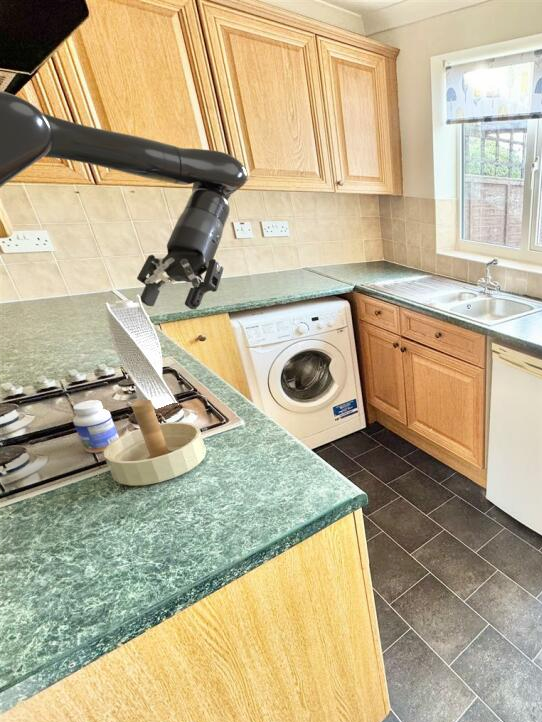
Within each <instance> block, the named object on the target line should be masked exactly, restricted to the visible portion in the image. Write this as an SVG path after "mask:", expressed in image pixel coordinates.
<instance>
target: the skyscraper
mask: <svg viewBox="0 0 542 722" xmlns="http://www.w3.org/2000/svg"><path fill="white" fill-rule="evenodd" d="M135 299H136V301H134V302H133V300H131V299H122V300H121V299H120V300H116V301H114V303H113V304H109V302H105V304H104V305H105V310H106V317H107V323H108V329H109V334H110V337H111V342H112V344H113V348H114V350H115V352H116V355H117V357H118V360H119V361H120V363H121V365H122V367H123V369H124V370H125V372H126V374H127V376H128V377H129V378H130V380H131V381H132V383H133V384H134V386H135V393H136V401H139V400H145V399H148V400H151V402H152V405H153V407H154V409H158V408H161V407H164V406H166V405H169V404H172V403H178V402H177V400H176V397H175V396H174V395H173V393H172V391H171V389H170V388H169V387H168V385H167V383H166V382H165V380H164V378H163V356H162V355H163V354H162V348H161V343H160V340H159V337H158V334H157V331H156V330H155V329H156V328H155V327H154V325H153V323H152V321H151V319H150V317H149V315H148V313H147V311H146V310H145V308H144V306H143V302H142V301H141V295H139V293H136V294H135Z"/></svg>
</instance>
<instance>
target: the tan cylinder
mask: <svg viewBox="0 0 542 722" xmlns="http://www.w3.org/2000/svg"><path fill="white" fill-rule="evenodd" d="M130 406H131V408H132V411H133V414H134V416H135V420H136V421H137V425H138V428H139V429H140V430H141V433H142V435H143V438H144V441H145V444H146V446H147V449H148V452H149V454H150V456H149V457H148V458H147V459H152V458H155V457H159V456H162V455H166V454H169V453H171V452H173V451H170V450H168V448H167V445H166V442H165V439H164V436H163V434H162V431H161V428H160V425H159V424H160V422H159V419H158V416H156V413H155V410H154V407H153V405H152V402H151V400H148V399H145V400H139V401H137V400H136V401H134V402H131V405H130Z"/></svg>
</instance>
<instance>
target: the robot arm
mask: <svg viewBox="0 0 542 722" xmlns="http://www.w3.org/2000/svg"><path fill="white" fill-rule="evenodd" d="M43 158H51V159H58V160H59V159H60V160H66V161H72V162H79V163H83V164H88V165H92V166H97V167H101V168H106V169H109V170H113V171H116V172H121V173H125V174H129V175H133V176H136V177H141V178H145V179H150V180H155V181H159V182H164V183H169V184H175V185H181V186H188V185H192V187H191V195H190V196H189V198H188V200H187V202H186V205H185V207H184V209H183V211H182V213H180V215H179V217H178V218H177V221H176V223H175V225H174V228H173V230H172V232H171V234H170V237H169V239H168V241H167V243H166V249H167V254H166V256H164V257H163V258H159V257H156V256H155V255H154V254H150V255H148V256H147V258H146V260H145V262H144V264H143V266H142V267H141V269H140V271H139V273H138V275H137V277H136V279H137V280H138V281H139V282H140V283H142V284H143V285H145V286H144V289H143V291H142V293H141V295H140V299H141V302H142V304H144V305H145V306H148V307H154V306H155V304H156V301H157V299H158V296H159V295H160V292H161V290H162V289H163V288H164V287H166V286H167V285H168V286H169V285H172V284H173V283H175V282H186V283H191V285H192V287H190V289H189V290H188V293H187V296H186V299H185V300H184V305H185V306H186V307H187V308H188V309H190V310H197V309H198V307H199V306H200V305H201V304H202V300H203V298H204V295H205V294H207V293H208V292H212V293H215V292H217V291H218V289H219V285H220V282H221V278H222V275H223V273H224V272H223V271H224V269H225V268H224V266H222V265H221V263H219V262H218V261H217V260H216V259H215V256H216V254H217V251H218V248H219V245H220V242H221V240H222V237H223V232H224V228H225V226H226V223H227V220H228V218H229V215H230V211H231V208H230V204H229V199H230V197H231V196H232V194H234V193H235V192H237V191H238V190H240V189H241V188H243V187H244V186H245V184H247V181H248V171H247V169H246V167H245V166H244V165H243V163H242V162H241V161H240V160H239V159H237V158H236V157H234V156H232V155H231V154H228V153H226V152H223V151H219V150H213V149H203V148H202V149H201V148H188V147H187V148H185V147H179V146H177V145H176V146H175V145H172V144H169V143H165V142H161V141H157V140H153V139H150V138H145V137H141V136H137V135H132V134H126V133H122V132H118V131H113V130H105V129H103V128H97V127H92V126H89V125H84V124H79V123H77V122H73V121H70V120H66V119H62V118H59V117H56V116H53V115H51V114H47V113H46V112H45V113H44V112H42V111H41V110H40V109H39V108H38V107H36V106H35V105H34V104H33V103H31V102H29V101H27V100H25V99H24V98H22V97H20V96H18V95H15V94H12V93H9V92H6V91H2V90H0V189H1V188H2V187H3V186H4V185H5V184H7V183H8V182H10V181H11V180H12V179H14V178H16V176H18V175H19V174H21V173H22V172H23V171H25V170H26V169H28V168H30V167H31V166H33V165H34V164H36V163H38V161H40V160H41V159H43ZM164 273H165V274H166V275H167V276H166V275H164ZM203 274H205V275H204V277H203ZM157 281H158V282H157Z"/></svg>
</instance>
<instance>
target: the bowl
mask: <svg viewBox="0 0 542 722" xmlns="http://www.w3.org/2000/svg"><path fill="white" fill-rule="evenodd" d="M159 425H160V428H161V431H162V434H163V436H164V439H165V442H166V445H167V448H168V450H170V451H173V452H171V453H169V454H166V455H162V456H159V457H155V458H152V459H147V458H148V457H149V456H150V454H149V452H148V449H147V446H146V444H145V441H144V438H143V435H142V433H141V430H140V428H137V429H134V430H132V431H128V432H127V433H124V434H122V435H121V436H119V438H117V439H116V440H114V441H113V442H111V443H110V444H109V445H108V446H107V447H106V449H105V450H104V451H103V458H104V460H105V463H106V465H107V467H108V469H109V472H110V474H111V476H112V478H113V480H114V481H115V482H117V483H118V484H119V485H120V484H121V485H126V486H147V485H151V484H158V483H162V482H165V481H168V480H171V479H174V478H177V477H179V476H181V475H183V474H185V473H188V472H189V471H191V470H193V469H194V468H196V467H197V466H199V464H200V463H201V462H202V461H203V460H204V459H205V457H206V454H207V447H206V445H205V441H204V438H203V435H202V432H201V430H200V427H199V426H198V425H196V424H194V423H191V422H184V421H170V422H162V423H159Z"/></svg>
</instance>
